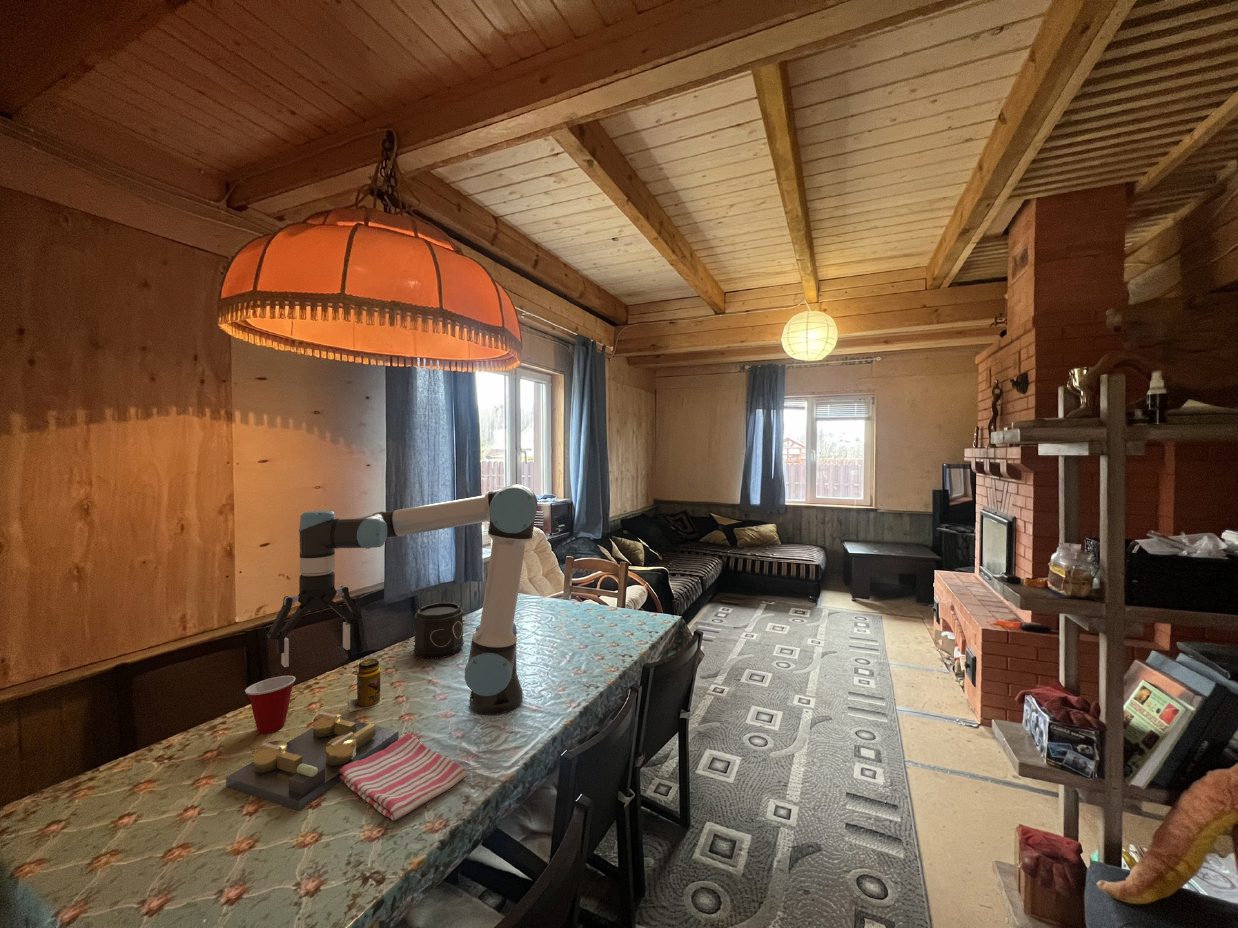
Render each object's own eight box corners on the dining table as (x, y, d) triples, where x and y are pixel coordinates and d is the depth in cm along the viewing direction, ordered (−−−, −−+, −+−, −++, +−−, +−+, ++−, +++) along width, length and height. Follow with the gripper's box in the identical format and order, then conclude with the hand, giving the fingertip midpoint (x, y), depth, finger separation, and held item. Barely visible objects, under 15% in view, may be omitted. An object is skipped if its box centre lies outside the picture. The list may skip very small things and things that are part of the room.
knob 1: (247, 769, 103) (247, 750, 103) (274, 753, 109) (274, 735, 109) (285, 780, 100) (285, 761, 100) (311, 763, 105) (311, 745, 105)
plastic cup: (285, 712, 131) (285, 670, 131) (303, 724, 125) (303, 679, 125) (237, 731, 122) (237, 685, 122) (255, 744, 116) (255, 696, 116)
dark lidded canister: (475, 646, 178) (475, 605, 178) (434, 664, 163) (434, 619, 163) (445, 637, 188) (445, 598, 188) (403, 652, 173) (403, 610, 173)
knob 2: (307, 734, 117) (307, 718, 117) (329, 721, 122) (329, 706, 122) (343, 743, 113) (343, 726, 113) (363, 730, 119) (363, 714, 118)
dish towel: (409, 743, 117) (409, 729, 117) (468, 779, 104) (468, 763, 104) (336, 781, 103) (336, 765, 103) (394, 828, 89) (395, 810, 89)
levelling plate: (398, 738, 119) (398, 731, 119) (299, 810, 94) (299, 801, 94) (334, 723, 126) (334, 715, 126) (226, 786, 101) (226, 777, 101)
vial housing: (326, 779, 100) (326, 761, 100) (304, 795, 96) (304, 775, 96) (309, 774, 102) (309, 756, 102) (287, 789, 97) (286, 770, 97)
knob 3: (339, 767, 104) (339, 749, 104) (319, 762, 106) (319, 744, 106) (382, 738, 115) (382, 721, 115) (363, 733, 117) (363, 717, 117)
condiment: (383, 704, 136) (383, 663, 136) (349, 712, 131) (349, 670, 131) (380, 694, 142) (380, 654, 142) (347, 701, 137) (347, 661, 137)
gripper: (363, 562, 130) (363, 638, 130) (251, 579, 110) (251, 668, 110) (375, 566, 125) (375, 645, 125) (260, 584, 106) (260, 678, 106)
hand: (317, 656), depth 118 cm, fingers open, 13 cm apart
